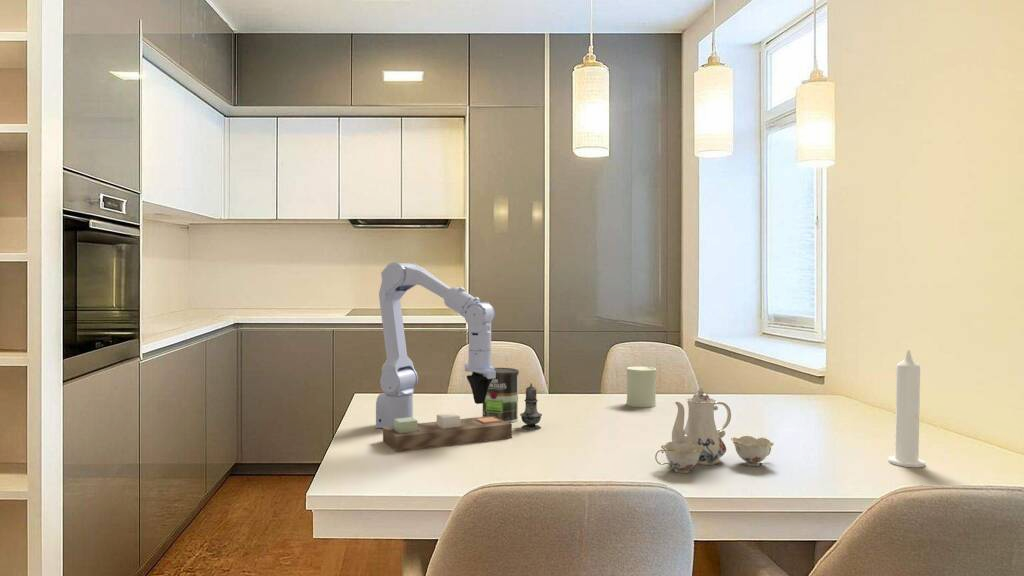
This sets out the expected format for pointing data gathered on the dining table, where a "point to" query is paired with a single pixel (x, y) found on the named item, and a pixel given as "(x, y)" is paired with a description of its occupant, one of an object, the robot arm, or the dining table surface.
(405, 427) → the sage key
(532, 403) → the salt shaker
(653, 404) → the can
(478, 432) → the brown long flat block
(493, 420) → the terracotta key
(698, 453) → the chinaware
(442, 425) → the offwhite key
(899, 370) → the candle
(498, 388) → the coffee can
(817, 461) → the dining table surface
